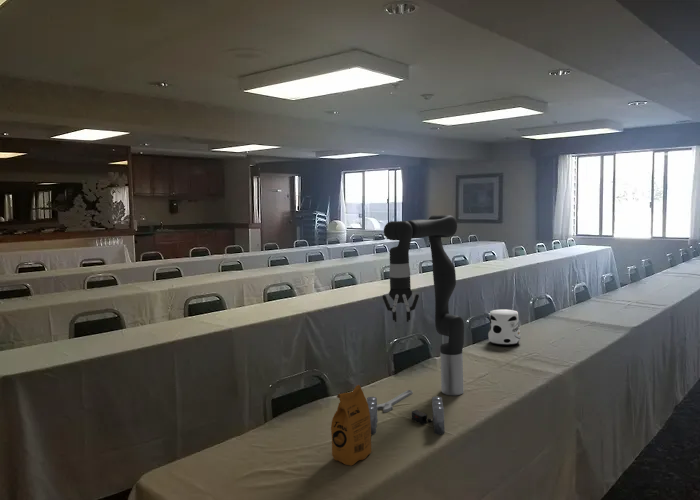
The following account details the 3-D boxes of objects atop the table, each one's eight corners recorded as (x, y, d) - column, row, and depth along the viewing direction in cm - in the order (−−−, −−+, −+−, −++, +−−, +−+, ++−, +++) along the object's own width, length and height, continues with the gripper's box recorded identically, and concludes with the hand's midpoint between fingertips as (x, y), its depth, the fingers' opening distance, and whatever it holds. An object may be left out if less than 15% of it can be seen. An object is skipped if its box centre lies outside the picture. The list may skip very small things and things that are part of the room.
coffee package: (327, 459, 167) (324, 392, 165) (353, 445, 176) (350, 381, 174) (350, 468, 160) (347, 399, 158) (376, 453, 169) (373, 387, 168)
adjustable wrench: (408, 393, 224) (408, 389, 224) (420, 396, 220) (420, 392, 220) (371, 411, 206) (371, 406, 205) (384, 415, 201) (384, 410, 201)
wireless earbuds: (423, 426, 189) (423, 417, 189) (411, 419, 195) (410, 411, 195) (433, 422, 191) (433, 414, 191) (420, 416, 197) (420, 408, 197)
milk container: (526, 346, 286) (525, 313, 284) (496, 348, 283) (495, 316, 282) (512, 338, 303) (511, 308, 301) (483, 340, 301) (483, 310, 299)
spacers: (368, 419, 196) (367, 396, 196) (442, 419, 193) (441, 396, 192) (365, 434, 184) (364, 409, 183) (445, 434, 181) (444, 409, 180)
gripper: (419, 273, 194) (420, 318, 196) (381, 274, 196) (382, 319, 197) (419, 276, 187) (421, 323, 188) (380, 277, 189) (381, 324, 190)
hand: (401, 321), depth 193 cm, fingers open, 4 cm apart
